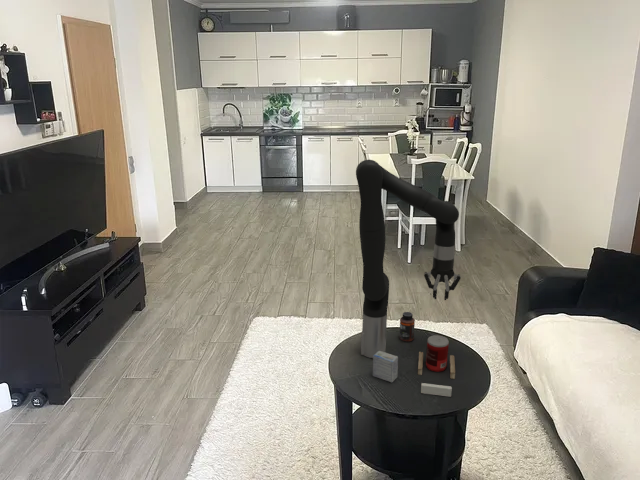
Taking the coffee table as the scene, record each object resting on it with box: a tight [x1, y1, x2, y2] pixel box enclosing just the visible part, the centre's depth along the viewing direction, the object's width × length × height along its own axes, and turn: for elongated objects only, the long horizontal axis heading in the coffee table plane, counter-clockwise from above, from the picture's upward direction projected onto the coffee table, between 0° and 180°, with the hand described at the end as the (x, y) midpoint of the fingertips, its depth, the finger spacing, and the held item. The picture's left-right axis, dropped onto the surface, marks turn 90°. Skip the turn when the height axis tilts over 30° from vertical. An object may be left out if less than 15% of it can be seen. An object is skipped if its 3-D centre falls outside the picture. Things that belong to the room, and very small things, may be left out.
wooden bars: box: [417, 351, 456, 380], centre depth 189 cm, size 13×12×2 cm
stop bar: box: [420, 382, 453, 398], centre depth 173 cm, size 10×2×3 cm, turn 78°
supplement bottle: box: [398, 311, 416, 342], centre depth 209 cm, size 6×6×11 cm
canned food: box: [425, 334, 450, 373], centre depth 188 cm, size 8×8×11 cm
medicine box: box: [372, 351, 399, 383], centre depth 182 cm, size 8×4×9 cm, turn 56°
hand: (440, 298), depth 192 cm, fingers open, 3 cm apart
